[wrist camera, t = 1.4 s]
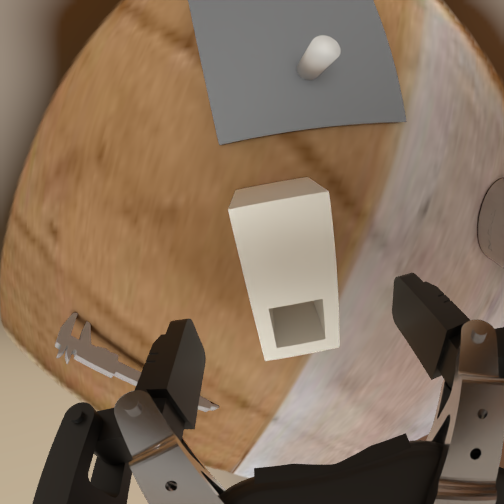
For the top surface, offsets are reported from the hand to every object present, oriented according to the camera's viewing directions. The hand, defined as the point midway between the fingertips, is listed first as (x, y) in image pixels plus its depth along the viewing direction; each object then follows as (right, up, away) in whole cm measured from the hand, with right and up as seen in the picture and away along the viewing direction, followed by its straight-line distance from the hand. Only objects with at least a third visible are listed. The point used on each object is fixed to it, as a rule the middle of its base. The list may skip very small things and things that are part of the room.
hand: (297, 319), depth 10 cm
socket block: (+1, +3, +12) cm, 12 cm away
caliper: (-14, -10, +18) cm, 25 cm away
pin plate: (+2, +18, +5) cm, 19 cm away
